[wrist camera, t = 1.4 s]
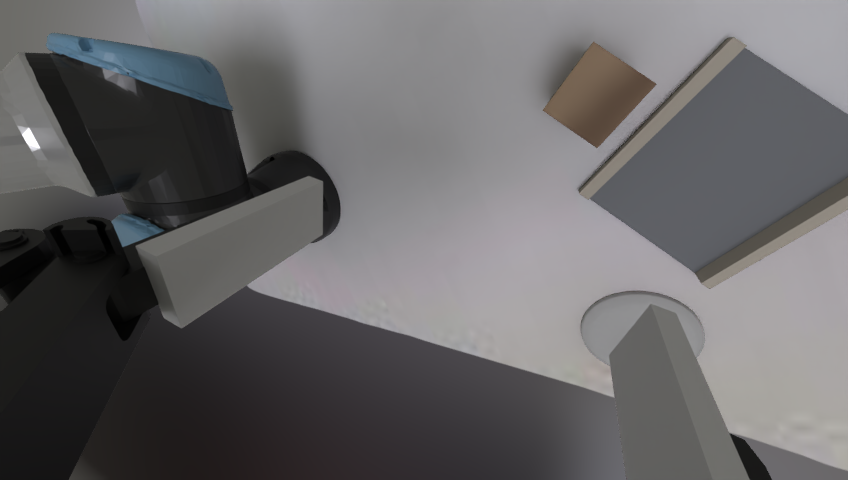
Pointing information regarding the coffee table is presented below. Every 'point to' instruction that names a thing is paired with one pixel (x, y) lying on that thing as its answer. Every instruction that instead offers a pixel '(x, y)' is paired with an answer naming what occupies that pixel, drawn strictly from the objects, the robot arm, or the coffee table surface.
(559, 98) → the block
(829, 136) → the grey flat square piece
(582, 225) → the coffee table surface
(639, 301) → the candlestick
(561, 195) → the coffee table surface
